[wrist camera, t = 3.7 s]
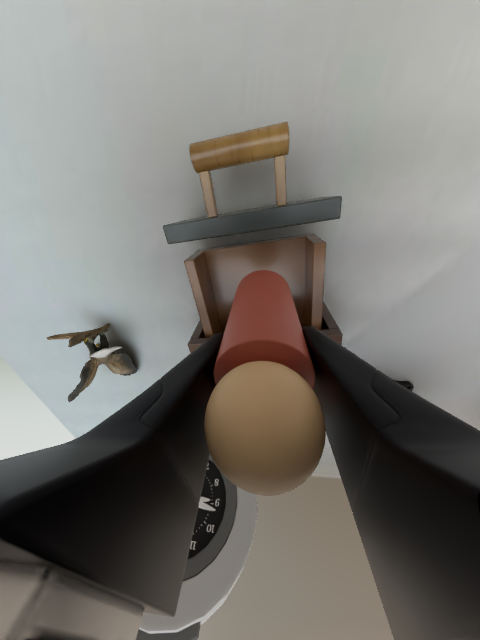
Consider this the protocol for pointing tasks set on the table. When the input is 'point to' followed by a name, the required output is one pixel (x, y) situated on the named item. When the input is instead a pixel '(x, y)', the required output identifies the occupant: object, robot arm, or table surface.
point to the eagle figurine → (97, 357)
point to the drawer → (240, 260)
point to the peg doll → (264, 393)
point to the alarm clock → (209, 558)
